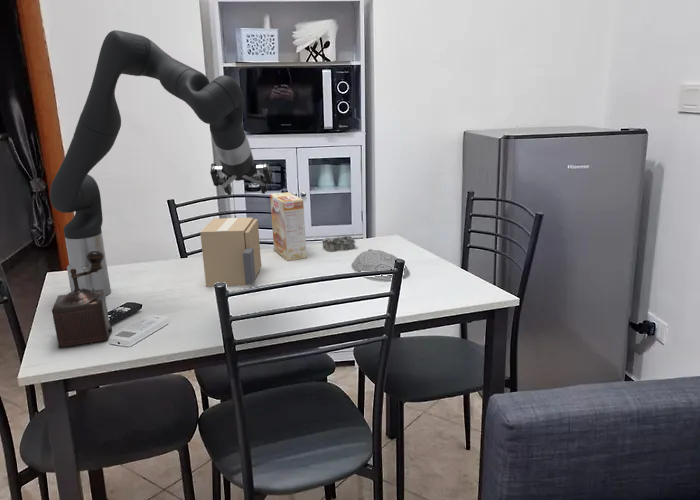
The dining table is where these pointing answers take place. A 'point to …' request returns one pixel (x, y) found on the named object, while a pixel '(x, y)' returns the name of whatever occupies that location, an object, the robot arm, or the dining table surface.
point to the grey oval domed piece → (376, 264)
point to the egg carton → (338, 243)
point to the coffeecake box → (288, 225)
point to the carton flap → (252, 253)
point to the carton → (224, 250)
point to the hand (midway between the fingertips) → (246, 191)
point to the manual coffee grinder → (82, 311)
